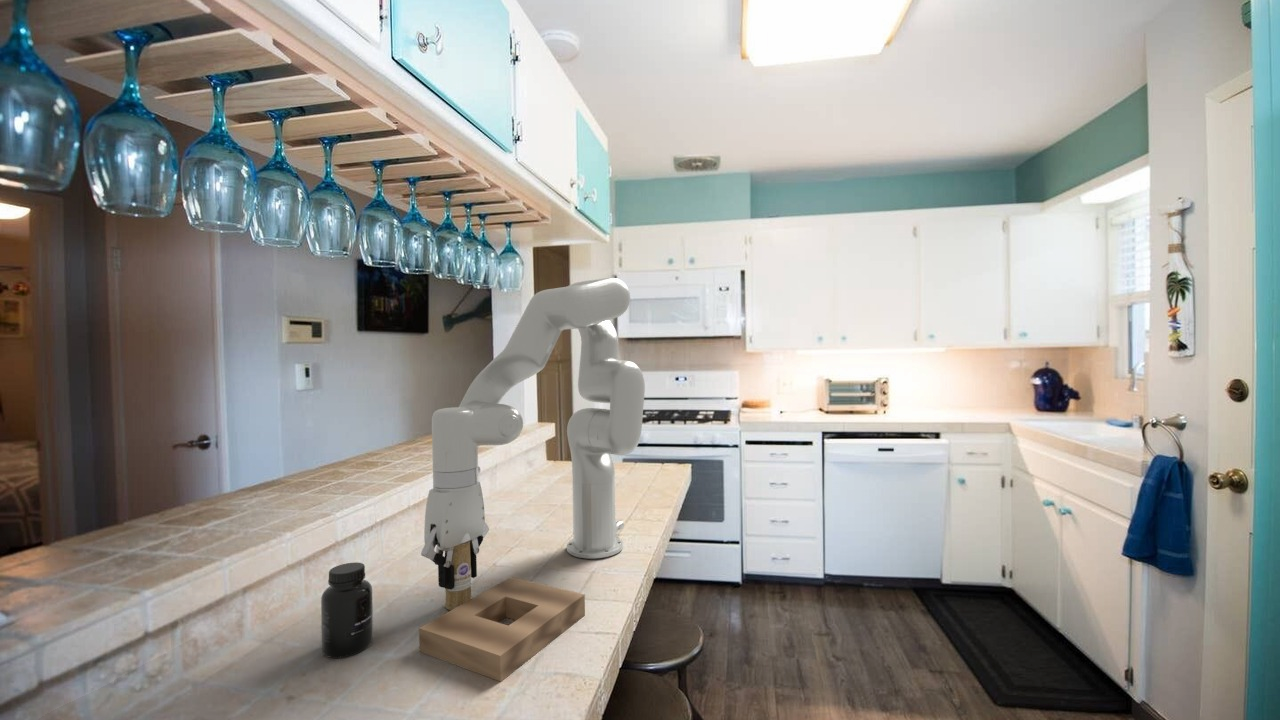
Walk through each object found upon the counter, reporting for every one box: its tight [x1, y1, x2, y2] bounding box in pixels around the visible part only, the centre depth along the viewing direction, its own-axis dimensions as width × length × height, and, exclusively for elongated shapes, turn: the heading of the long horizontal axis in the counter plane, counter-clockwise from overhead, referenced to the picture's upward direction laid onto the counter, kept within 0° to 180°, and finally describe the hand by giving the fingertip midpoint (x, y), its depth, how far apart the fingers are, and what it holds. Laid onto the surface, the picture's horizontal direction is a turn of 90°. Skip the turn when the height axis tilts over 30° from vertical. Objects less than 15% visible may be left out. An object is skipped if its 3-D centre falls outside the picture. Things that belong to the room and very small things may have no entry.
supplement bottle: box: [320, 562, 374, 659], centre depth 80 cm, size 7×7×12 cm
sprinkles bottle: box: [444, 533, 472, 611], centre depth 92 cm, size 5×5×14 cm
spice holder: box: [418, 576, 586, 682], centre depth 83 cm, size 20×16×4 cm
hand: (458, 580), depth 92 cm, fingers closed on sprinkles bottle, 4 cm apart
